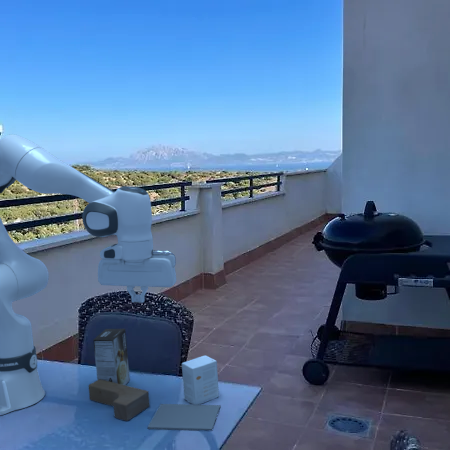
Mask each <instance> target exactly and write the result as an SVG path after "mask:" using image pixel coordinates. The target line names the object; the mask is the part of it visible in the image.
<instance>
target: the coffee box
mask: <svg viewBox="0 0 450 450" xmlns="http://www.w3.org/2000/svg"><path fill="white" fill-rule="evenodd" d="M92 341H93V351H94V359H95V368H96V379H97V380H99V379H101V380H106V381H110V382H114V383H118V384H122V385H126V386H127V384H128V383H129V382H130V381H131V378H130V377H131V376H130V367H129V355H128V347H127V346H128V345H127V334H126V328H105V329H104V330H103V331H102V332H100V333H99V334H98V335H97V336H95V337H94V338H93V340H92ZM97 380H96V381H97Z"/></svg>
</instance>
